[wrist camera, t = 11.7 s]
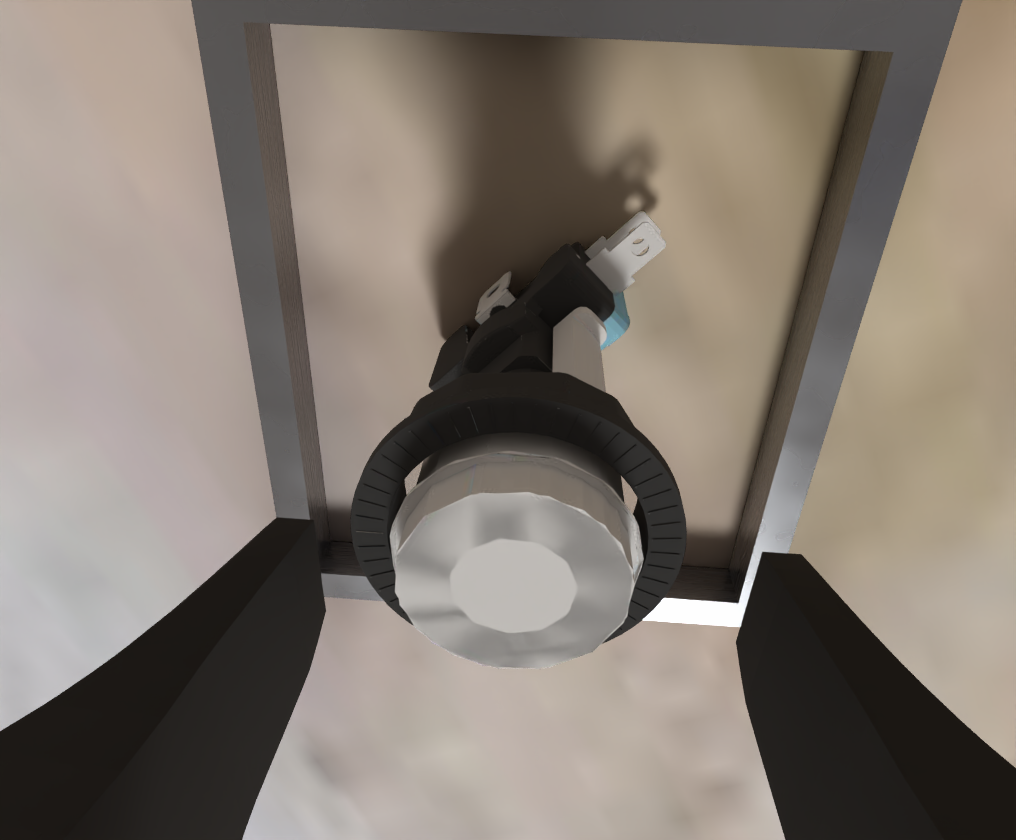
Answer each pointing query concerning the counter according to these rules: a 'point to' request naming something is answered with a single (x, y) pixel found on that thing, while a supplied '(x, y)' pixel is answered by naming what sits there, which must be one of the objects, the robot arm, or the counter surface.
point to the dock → (606, 15)
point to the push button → (526, 477)
